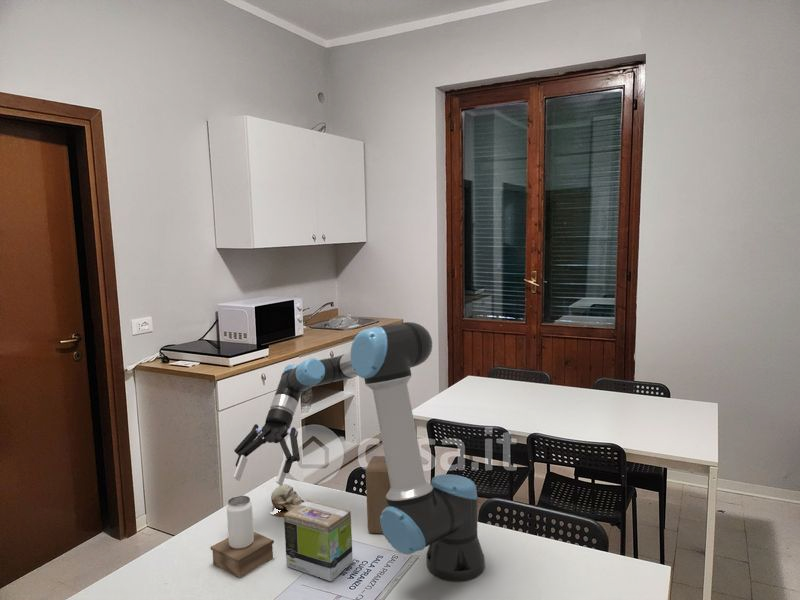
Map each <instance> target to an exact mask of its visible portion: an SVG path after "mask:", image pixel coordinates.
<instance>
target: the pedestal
mask: <svg viewBox="0 0 800 600" xmlns="http://www.w3.org/2000/svg"><path fill="white" fill-rule="evenodd" d="M253 533H254V541H253V543H252V544H251V545H250V546H248V547H246V548H243V549H234V548H232V547H231V546H230V545H229V539H228V537H227V538H225V539H223V540H221V541H219V542H217V543H216V544H214V545H211V546H210V550H211V552H212V562H213V563H212V564H213V566H216V567H217V568H220V569H221V570H223V571H225V572H227V573H229V574H231V575H233V576H235V577H236V578H239V579H241V578H242V577H244V576H246V575H248V574H250V573H251V572H253V571H254V570H256V569H258V568H259V567H261V566H262V565H264V564H266V563H267V562H269V561H271V560H272V559H274V551H273V550H274V547H273V545H274V542H275V541H274V539H272V538H270V537H267V536H265V535H262V534H260V533H258V532H255V531H253Z"/></svg>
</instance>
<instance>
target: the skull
mask: <svg viewBox="0 0 800 600" xmlns="http://www.w3.org/2000/svg"><path fill="white" fill-rule="evenodd" d="M270 498H271V499H270V500H271V501H270V502H271V504H272V506H273V508H276V509H278V510H281V511H280V512H279V511H278V513H276V514H274V517H284V514H285V513H287V512H288V511H290V510H292V509H293V508H295V507H297V506H298V505H300V504H302V503H303V502H305V501H306V500H303V499H302V497H301V496H300V495H298V493H297V491H295V490H294V487H293V486H291V485H289V484H285V483H283V485H282V486H280V485H279V486H277V487H276V488H275V489H274V490H273V491H272V492H271V497H270Z"/></svg>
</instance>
